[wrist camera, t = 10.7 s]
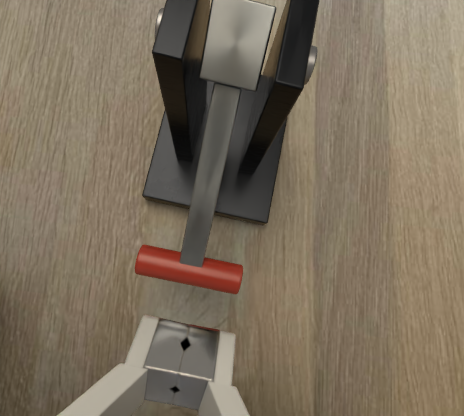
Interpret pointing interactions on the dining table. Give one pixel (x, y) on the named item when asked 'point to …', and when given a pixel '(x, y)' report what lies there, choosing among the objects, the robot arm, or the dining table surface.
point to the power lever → (216, 141)
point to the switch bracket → (247, 117)
